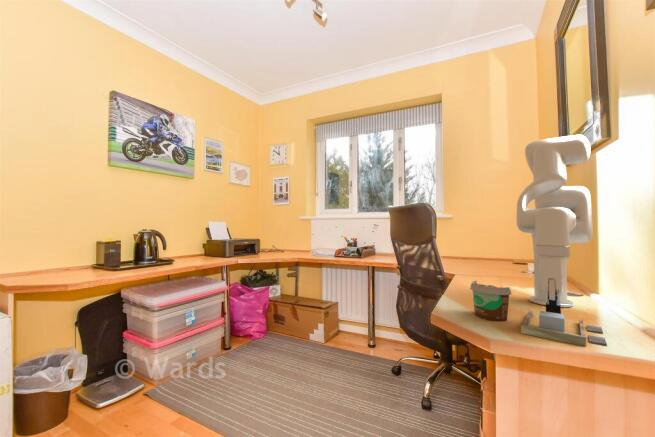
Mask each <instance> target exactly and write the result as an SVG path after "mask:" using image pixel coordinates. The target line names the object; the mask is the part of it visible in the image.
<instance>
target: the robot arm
mask: <svg viewBox="0 0 655 437" xmlns="http://www.w3.org/2000/svg"><path fill="white" fill-rule="evenodd" d="M524 154H525V155H524V156H525V160H526V163H527V166H528V168H529V169H530V171H531V173H532V177H533V178H532V179H533V182H531V183H530V184H528V185H527V186H526V187H525V188H524V190H522V192H521V194H520V195H519V196H518V199H517V203H516V218H515V219H516V221H515V222H516V226H517V228H518V230H519V231H520V232H522V233H527V234H530V235H531V239H532V245H533V246H532V247H533V248H532V249H533V284H534V286H533V289H534V295H531V296H529V301H530V302H532V303H534V304H538V305H542V306H545V312H552V313H558V314H562V308H571V307H573V306H574V302H573V301H572V300H568V280H567V279H568V276H567V275H568V274H567V273H568V272H567V268H568V267H567V266H568V265H567V263H568V262H567V259H571V244H586V243H589V242H590V241H592V239H593V235H594V226H593V225H594V223H593V206H592V205H593V204H592V197H591V196H592V195H591V193H590V192H591V191H590V190H589V189H588V188H587V187H585V186H582V185H573V186H565V185H566V184H567V181H568V177H567V167H566V166H567V165H579V164H584V163H586V162H588V161H589V159H590V156H591V145H590V141H589V140H588V138H587V137H586V136H584V135H583V134H573V135H565V136H558V137H552V138H545V139H538V140H535V141H532V142H530V143H528V144H527V145H526V146H525V149H524ZM533 201H534V207H535V208H528V205H529V204H530V203H531V202H533Z"/></svg>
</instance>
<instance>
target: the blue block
mask: <svg viewBox="0 0 655 437" xmlns="http://www.w3.org/2000/svg"><path fill="white" fill-rule="evenodd" d="M565 317H566V316H565V314H563V313H561V314H558V313H552V312H546V310H544V311H543V310H540V313H539V315H538V318H539V319H538V320H539V321H538V322H539V324H538V325H539V326H538V328H542V329H548V330H553V331H559V332H564V333H566V325H565V324H566V320H565V319H566V318H565Z"/></svg>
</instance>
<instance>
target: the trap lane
mask: <svg viewBox="0 0 655 437" xmlns="http://www.w3.org/2000/svg"><path fill="white" fill-rule="evenodd" d="M533 314H534V311H533V310H528V312H527V314H526V316H525V319H524V321H523V323H522V324H520V333H521V334H524V335H528V336H533V337H538V338H543V339H547V340H548V339H549V340H554V341H558V342H563V343H568V344H574V345H578V346H583V347H587V337H588V341H589V344H595V345H601V346H608V345H607V344H608V343H607V340H606V337H601V336H596V335H591V334H588V336H586V331H585V324H584V318H581V317H579V318H578V319H579V320H578V324H579V332H580V333H579V334H580V335H579V334H575V333H574V334H573V333H569V332H565V333H564V332H559V331H553V330H548V329H542V328H539V327H536V326H531V325H530V323H531V321H532V318H533ZM586 330H587V332H589V333H596V334H601V335H604V332H603V329H602V326H595V325H590V324H586Z"/></svg>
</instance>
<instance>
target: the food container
mask: <svg viewBox="0 0 655 437" xmlns="http://www.w3.org/2000/svg"><path fill="white" fill-rule="evenodd" d="M469 289H470V290H471V291H472V295H473V306H474V307H473V308H474V315H475V316H476V317H478V318H480V319H482V320H483V319H484V320H486V321H493V322H507V321H508V313H509V304H510V303H509V300H510V295H511V296H512V291H511V288H510V286H509V287H508V286H507V287H497V286H495V285H490V284H489V285H488V284H481V283H478V282H477V280H472V282H471V284H470V288H469Z"/></svg>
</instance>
